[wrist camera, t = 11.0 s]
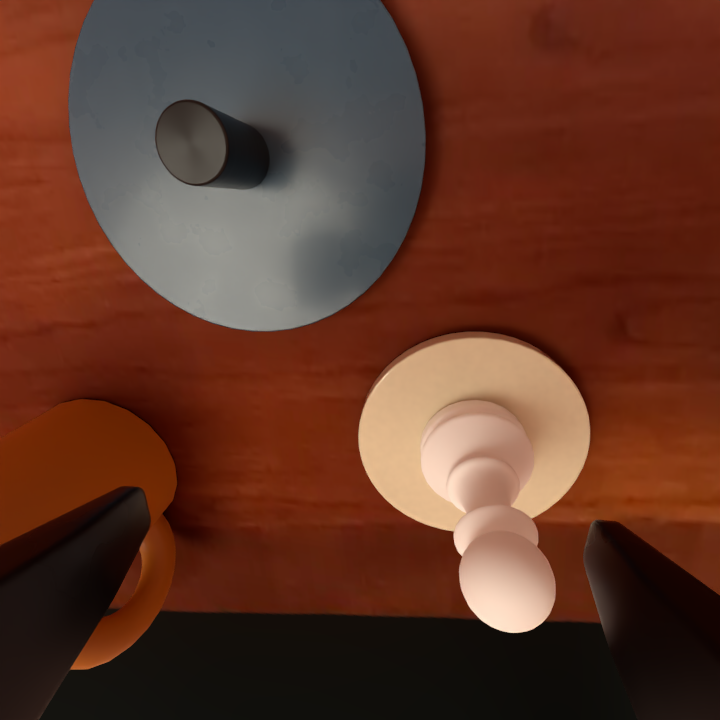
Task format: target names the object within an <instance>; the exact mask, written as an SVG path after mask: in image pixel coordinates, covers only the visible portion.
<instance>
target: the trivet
mask: <svg viewBox="0 0 720 720" xmlns="http://www.w3.org/2000/svg"><path fill="white" fill-rule="evenodd" d="M468 400H481V401H488V402H492V403H495V404H497V405H499V406H502V407H504V408H505V409H507V410H508V411H509V412H511V413H512V414H513V415H515V417H516V418H517V419H518V421H519V422H520V423H521V425H522V426H523V428H524V430H525V432H526V435H527V437H528V438H529V440H530V442H531V445H532V448H533V451H534V468H533V471H532V474H531V477H530V479H529V480H528V482H527V483H526V485H525V486H524V488H523V489H522V490H521V491H520V492H519V494H518V498H517V499H516V501H515V502H514V503H513V505H512V506H511V507H513V508H516V509H518V510H521V511H522V512H523V513H525V514H526V515H528V516H529V517H530V518H531V519H532V518H534V517H536V516H538V515H539V514H541V513H542V512H544V511H546V510H547V509H549V508H550V507H551V506H552V505H554V504H555V503H556V502H557V501H559V500H560V499H561V498H562V496H563V495H564V494H565V493H566V492H567V491H568V490H569V489H570V488H571V486H572V485H573V483H574V482H575V481H576V479H577V477H578V476H579V474H580V472H581V470H582V468H583V466H584V463H585V460H586V457H587V454H588V449H589V444H590V422H589V415H588V411H587V408H586V405H585V402H584V400H583V398H582V395H581V393H580V391H579V389H578V388H577V386H576V385H575V384H574V382H573V381H572V379H571V378H570V377H569V376H568V375H567V373H566V372H565V371H564V370H563V369H562V368H561V367H560V366H559V365H558V364H557V363H556V362H555V361H554V360H553V359H552V358H550V357H549V356H548V355H547V354H545V353H544V352H543V351H541V350H539V349H538V348H536V347H534V346H532V345H531V344H529V343H526V342H524V341H521V340H519V339H516V338H514V337H510V336H506V335H502V334H497V333H490V332H460V333H451V334H447V335H443V336H439V337H435V338H432V339H430V340H427V341H425V342H422V343H420V344H418V345H416V346H414V347H412V348H410V349H408V350H407V351H405V352H404V353H403V354H401V355H400V356H398V357H397V358H396V359H395V360H393V361H392V362H391V363H390V364H389V365H388V366H387V367H386V368H385V369H384V370H383V371H382V373H381V374H380V375H379V376H378V377H377V379H376V380H375V382H374V384H373V385H372V387H371V389H370V390H369V393H368V395H367V397H366V400H365V402H364V406H363V410H362V413H361V418H360V423H359V431H358V440H359V450H360V455H361V459H362V462H363V465H364V468H365V470H366V472H367V474H368V476H369V478H370V480H371V482H372V483H373V485H374V486H375V487H376V489H377V490H378V492H379V493H380V494H381V495H382V496H383V497H384V498H385V499H386V500H387V501H388V502H389V503H390V504H391V505H393V506H394V507H395V508H396V509H398V510H399V511H401V512H402V513H404V514H405V515H407V516H409V517H411V518H413V519H415V520H416V521H419V522H421V523H424V524H426V525H429V526H432V527H436V528H439V529H443V530H449V531H455V527H456V525H457V523H458V522H459V520H460V519H461V518H462V517H463V516H464V515H465V514H466V513H465V512H462V511H461V510H460V509H458V508H457V507H455V505H454V504H453V503H452V502H449V501H447V500H445V499H444V498H442V497H441V496H440V495H438V494H437V493H435V492H434V490H433V489H432V488H431V487H430V486H429V484H428V483H427V482H426V479H425V477H424V475H423V473H422V468H421V460H420V458H421V453H420V442H421V437H422V432H423V430H424V429H425V427H426V425H427V423H428V421H429V420H430V419H431V418H432V417H433V416H434V415H435V414H436V413H437V412H439V411H440V410H442V409H443V408H445V407H447V406H448V405H451V404H454V403H457V402H460V401H468Z"/></svg>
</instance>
